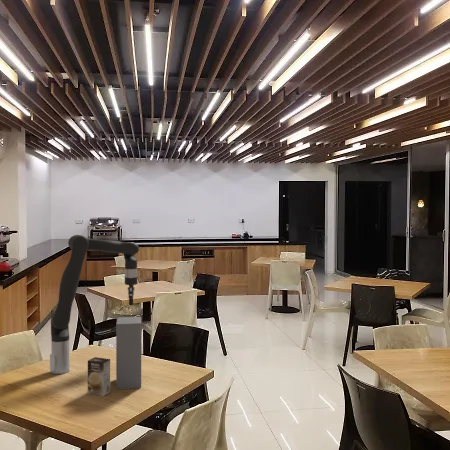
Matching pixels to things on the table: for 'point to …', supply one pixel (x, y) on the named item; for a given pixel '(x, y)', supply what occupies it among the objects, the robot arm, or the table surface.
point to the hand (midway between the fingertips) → (131, 303)
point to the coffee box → (98, 376)
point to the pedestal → (128, 352)
